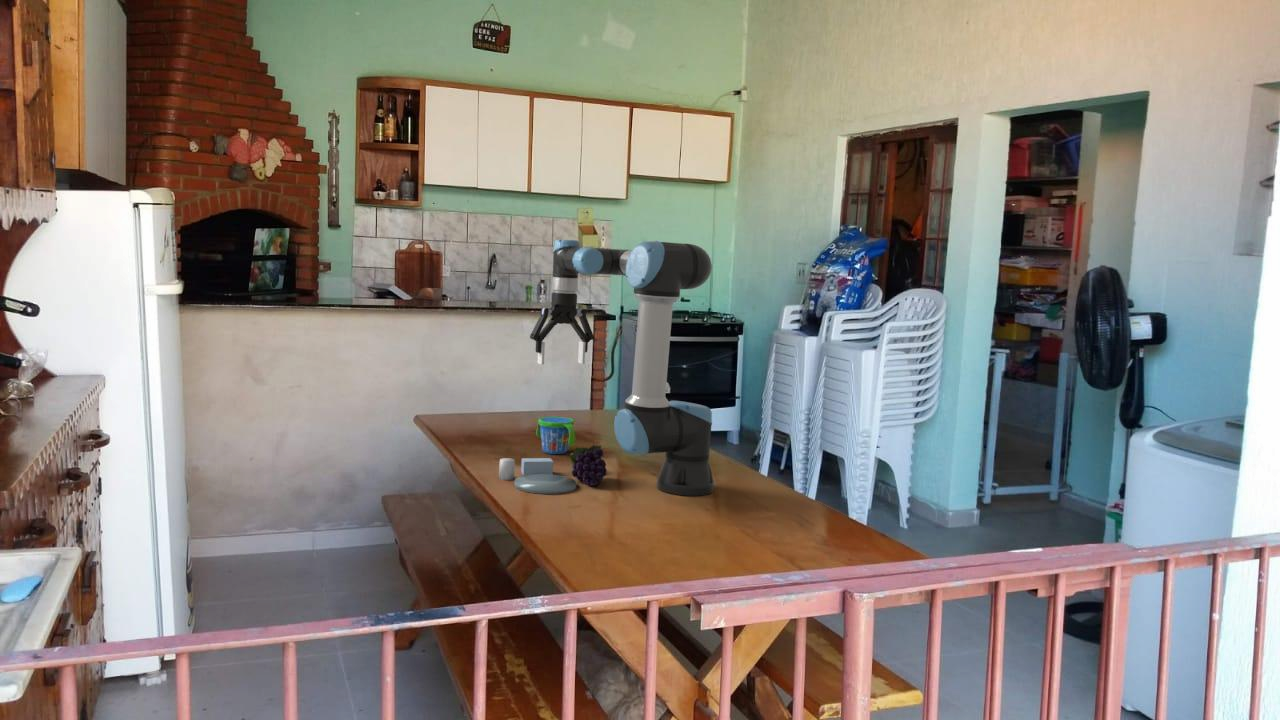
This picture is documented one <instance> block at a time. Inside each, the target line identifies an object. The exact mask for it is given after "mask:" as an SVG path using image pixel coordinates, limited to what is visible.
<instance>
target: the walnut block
mask: <svg viewBox="0 0 1280 720" xmlns="http://www.w3.org/2000/svg"><path fill="white" fill-rule="evenodd" d="M571 454H573V453H569V455H571ZM570 459H571V458H570V457H569V467H568V470H569V471H568V472H571V473H572V471H573V469H574V468H573V464H574V463H573V462H571V461H572V460H570Z"/></svg>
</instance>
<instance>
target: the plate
mask: <svg viewBox="0 0 1280 720" xmlns="http://www.w3.org/2000/svg"><path fill="white" fill-rule="evenodd" d="M514 487H515V488H516V489H517V490H519V491H520V492H521V491H522V492H524V493H525V492H526V493H529V492H530V493H531V494H536V493H537V494H538V495H560V494H561V493H562V494H566V493H571V492H573V491H575V490H576V489H577V481H576V480H575V479H573V478H571V477H569V476H564V475H561V474H560V475H559V474H558V475H557V474H553V475H551V474H532V475H525V476H524V475H521V476H518V477H516V478H514ZM559 493H560V494H559ZM562 494H561V495H562Z"/></svg>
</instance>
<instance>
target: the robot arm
mask: <svg viewBox="0 0 1280 720" xmlns="http://www.w3.org/2000/svg"><path fill="white" fill-rule="evenodd" d="M552 251H553V252H552V254H553V255H552V256H553V257H552V279H551V280H552V283H551V284H552V285H551V290H552V291H553V292H552V293H551V299H550V301H551V307H550V309H549V308H546V307H541V310H540V315H539V318H538V319H537V321H536V323H535V326H534V327H533V328H532V329H533V330H532V331H531V333H530V335H529V339H531V340H533V341H535V353H537V364H539V365H545V350H546V348H545V346H546V345H545V344H546V341H545V342H544V341H543V340H545V338H547V336H548V335H549V333H550V332H551V331H552V330H553V329H554V328H555V326H557V325H558V324H560V325H561V324H562V325H563V324H567V325H570V326H571V327H572V328H573V330H574V331H575V333H576V334H577V336H578V338H579V339H580V340H581V341H578V352H577V353H578V354H577V355H578V356H577V362H578V363H579V364H581V365H584V364H585V362H586V360H585V359H586V353H588V347H589V346H588V345H589V344H588V343H590V341H593V340H594V339H595V336H594V334H593V331H592V329H591V325H590V323H589V320H588V318H587V311H586V309H585V308H578V309H577V304H578V294H577V293H576V292H578V286H579V274H582V275H610V276H623V277H624V276H625V278H627V279H626V282H627V283H628V284H629V285H630V287H632V288H633V295H634V297H635V298H636V299H637V300H638V310H637V322H636V324H637V325H636V337H635V348H634V349H635V350H634V360H633V362H634V363H633V374H632V388H631V394H630V396H628V397H627V398H625V401H624V408H622V409H621V410H618V412H617V413H616V415H615V417H614V420H613V421H614V423H613V427H614V428H613V430H614V435H615V439H616V441H617V443H618V445H619V447H620V448H621V449H622V450H623V451H624V452H626V453H627V454H629V455H640V456H646V455H651V454H660V453H661V454H663V453H665V454H664V455H665V458H664V461H663V464H662V466H661V468H660V471H659V475H658V476H657V479H656V488H657V489H659V491H661V492H664V493H667V494H673V495H679V496H690V497H691V496H694V497H695V496H705V495H709V494H712V493H713V492H714V487H715V486H714V483H715V482H714V478H713V473H712V469H711V466H710V450H711V449H710V447H711V434H712V425H713V422H712V421H713V415H712V414H713V413H712V410H711V408H710V407H708V406H706V405H702V404H698V403H693V402H687V401H681V400H668V398H667V397H666V394H667V381H668V368H669V367H668V366H669V357H670V356H669V355H670V344H671V342H670V341H671V330H672V318H673V306H674V303H676V301H678V300H679V299H680V294H681V293H680V292H681V290H692V289H693V290H694V289H696V288H699V287H701V286H702V285H703V284H705V283H706V282H707V281H708V279H709V277H710V275H711V273H712V261H711V258H710V255H709V253H708V252H707V251H706V250H705V249H703V248H702V247H701V246H699V245H696V244H693V243H679V242H668V241H667V242H666V241H658V240H655V241H653V240H652V241H642V242H640V243H638V244H636V245H635V246H634V247H633V249H621V248H619V249H617V248H602V247H601V248H599V247H598V248H597V247H590V246H581V245H580V242H579V240H577V239H556V240H555V241H554V246H553V250H552ZM549 316H551V317H550V318H549V320H548V322H547V323H546V321H547V319H548V317H549ZM576 316H577V317H578V318H579V321H580V324H581V326H580V324H579V323H578V320H577V319H576ZM545 323H546V324H545ZM544 325H545V326H544Z"/></svg>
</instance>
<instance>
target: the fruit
mask: <svg viewBox="0 0 1280 720" xmlns="http://www.w3.org/2000/svg"><path fill="white" fill-rule="evenodd" d="M601 447H602V445H595V444H594V445H591V446H590V447H589V448H588V447H576V448H575V450H574V451H573V452H572V453H573V454H572V453H570V454H571V455H570V454H568V456H569V461H570V460H572V461H571V462H573V463H574V464H573V468H574V469H573V471H572V472H571V476H572V477H574V478H576V480H577V481H582V482H583V483H584V484H585V485H586V486H588V487H592V486H597V484H599V483H601V482H603V480H604V477H605V476H606V475H607V467H606V466H607V463H606V461H605V460H604V459H602V457H604V450H603V449H602V448H601ZM570 458H571V459H570Z"/></svg>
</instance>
